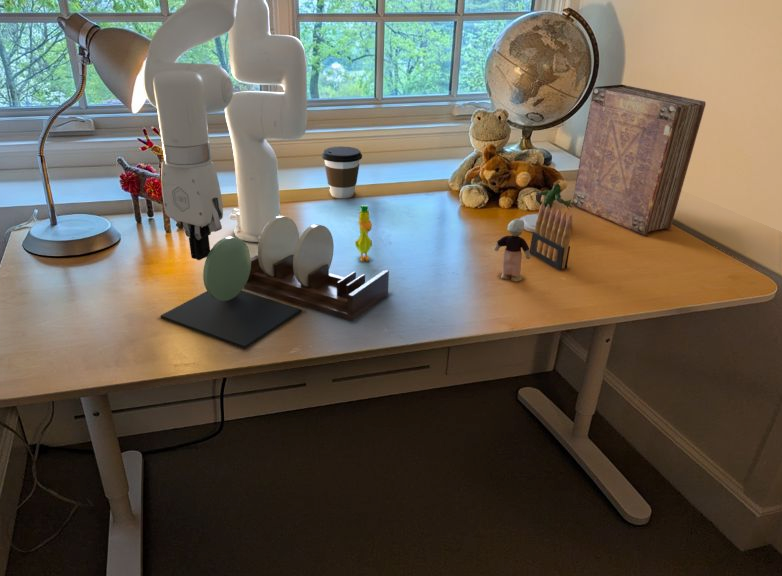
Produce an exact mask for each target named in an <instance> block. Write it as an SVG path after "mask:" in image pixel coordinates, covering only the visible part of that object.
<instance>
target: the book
mask: <svg viewBox="0 0 782 576" xmlns="http://www.w3.org/2000/svg"><path fill="white" fill-rule="evenodd" d="M706 104H707V103H706V101H704V100H700V99H695V98H690V97H685V96H679V95H674V94H670V93H665V92H660V91H656V90H652V89H651V90H650V89H645V88H640V87H636V86H631V85H626V84H612V85H604V86H603V85H601V86H594V87H593V89H592V94H591V98H590V104H589V110H588V115H587V121H586V126H585V131H584V137H583V143H582V148H581V153H580V159H579V164H578V168H577V174H576V181H575V185H574V191H573V197H572V200H571V201H572V202H571V203H573V204H571V206H573V207H576V208H578V209H581V210H583V211H584V212H588V213H590V214H592V215H594V216H597V217H599V218H602V219H603V220H606V221H609V222H611V223H612V224H616V225H618V226H620V227H622V228H625V229H627V230H629V231H632V232H634V233H636V234H638V235H641V236H643V237H645V236H646V235H647V234H648V233H649V232H655V231H659V230H663V229H664V230H666V231H669V230H671V229H672V225H673V221H674V217H675V215H676V211H677V207H678V205H679V200H680V197H681V193H682V189H683V186H684V182H685V179H686V175H687V172H688V169H689V165H690V161H691V158H692V154H693V150H694V148H695V143H696V140H697V136H698V134H699V133H698V132H699V129H700V127H701V122H702V119H703V115H704V112H705V108H706Z"/></svg>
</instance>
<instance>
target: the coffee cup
mask: <svg viewBox="0 0 782 576" xmlns="http://www.w3.org/2000/svg"><path fill="white" fill-rule="evenodd" d="M321 158H322V159H323V160H324V168H325V169H324V170H325V174H326V180H327V185H328V188H329V187H330V189H329V193H330V195H331V197H333V198H336V199H348V198H352V197H353V196H354V194H355V192H356V191H355V190H356V185H357V182H358V176H359V170H360V160H362V159H363V154H362V152H361V150H360V149H359V148H356V147H351V146H332V147H328V148H325V149H324V150H323V151H322V154H321Z"/></svg>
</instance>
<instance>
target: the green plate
mask: <svg viewBox="0 0 782 576" xmlns="http://www.w3.org/2000/svg"><path fill="white" fill-rule="evenodd" d="M251 258H252V256H251V252H250V249H249V246H248V245H247V244H246V242H245V241H244V240H241V239H239V238H238V237H236V236H235V237H234V236H227V237H223V238H221V239H220V240H218V241H217V242H216V243H215V244H214V245H213V246H211V248H210V252H209V254H208V256H207V257H206V258H205V261H204V265H203V271H202V277H203V278H202V279H203V285H204V288H205V291H207V292H208V293H209V295H210V296H212V297H213V298H215V299H218V300H220V301H227V300H230V299H233V298H234V297H236V296H237V295H238V294H239V293H240V292H241V291H243V290H244V289H245V288H244V286H245V285H246V283H247V280H248V278H249V274H250V270H251Z"/></svg>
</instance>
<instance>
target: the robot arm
mask: <svg viewBox="0 0 782 576" xmlns="http://www.w3.org/2000/svg"><path fill="white" fill-rule="evenodd" d="M270 27H271V26H270V8H269V5H268V2H267V0H185V2H184V4H183V5H182V6H181V7H179V8H178V9H177V10H175V11H174V12H173V13H172V14H170V16H169V17H167V18H166V20H165V21H164V22H163V23H162V24H161V26H159V27H158V29H156V31H155V33H154V34H153V35H152V38H151V40H150V42H149V46H148V51H147V55H146V60H145V65H144V72H143V89H144V94H145V97H146V99H147V101H148V102H149V104H150V105H152V106H153V107H154V108H156V110H157V119H158V125H159V130H160V139H161V148H162V151H163V158H164V159H163V160H162V161H161V174H160V175H161V194H162V200H163V201H162V202H163V208H164V209H163V210H164V213H165V215H166V216H167V217H168V218H170V219H171V220H173V221H175V222H176V223H178V224H180V225H181V226H182V228H183V230H184V235H185V236H186V237H187V238H188V242H189V249H190V256H191V259H194V260H196V261H201V260H203V259H206V258H207V256H208V254H209V252H210V250H211V246H210V237H209V236H210V235H212V233H215V232H218V231H220V230H222V229H223V225H222V223H221V220H222V219H223V217H224V206H223V198H222V191H221V187H220V182H219V177H218V173H217V171H216V166H215V163H214V162H213V160H212V153H211V152H212V151H211V143H210V135H209V127H208V118H207V115H210V114H217V113H220V112H222V111H224V116H225V121H226V125H227V128H228V132H229V136H230V141H231V146H232V152H233V153H232V154H233V161H234V172H235V184H236V192H237V200H238V201H237V204H238V208H233V209H232V211H231V213H230V214H229V217H228V218H229V219H230V220H232V221H236V224H237V225H236V226H235V227H234V230H233V233H234V236H235V238H238V239H241V240H242V241H244V242H250V243H259V239H260V236H261V233H262V231H263V229H264V228H265V226H266V225H267V223H268V222H269V221H270V220H272V219H273V218H275V217H277V216H281V203H280V202H281V201H280V186H279V185H280V183H279V170H278V158H277V155H276V153H275V150H274V149H273V147H272V146H271V144H270V143H269V142H268V141H267V140H283V141H284V140H285V141H296V140H299V139H301V138H303V137H304V135H305V134H306V130H307V125H308V95H307V94H308V84H307V83H308V82H307V81H308V79H307V78H308V77H307V75H308V74H307V73H308V71H307V70H308V69H307V55H306V50H305V48H304V45H303V43H302V41H301V40H300V39H299V38H298V37H296V36H293V35H287V34H271V30H270V29H271V28H270ZM225 34H227V36H228V37H227V38H228V52H229V53H228V54H229V66H230V72H231V74H232V77H233V79H235V80H236V81H238V82H239V83H242V84H250V85H264V86H266V85H267V86H281V87H282V88H283V89H282V90H283V92H279V91H260V90H242V91H237V92H234V85H233V81H232V78H231V76H230V74H229V73H228V71H226V69H225V68H224V67H221V66H220V65H217V64H212V63H195V62H177V61H178V60H179V59H180V58H181V57H182V55H185V54H186V53H187V52H188V51H190V50H191V49H194V48H196V47H198V46H200V45H203V44H206V43H208V42H211V41H213V40H215V39H217V38H219V37H222V36H224V35H225Z"/></svg>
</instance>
